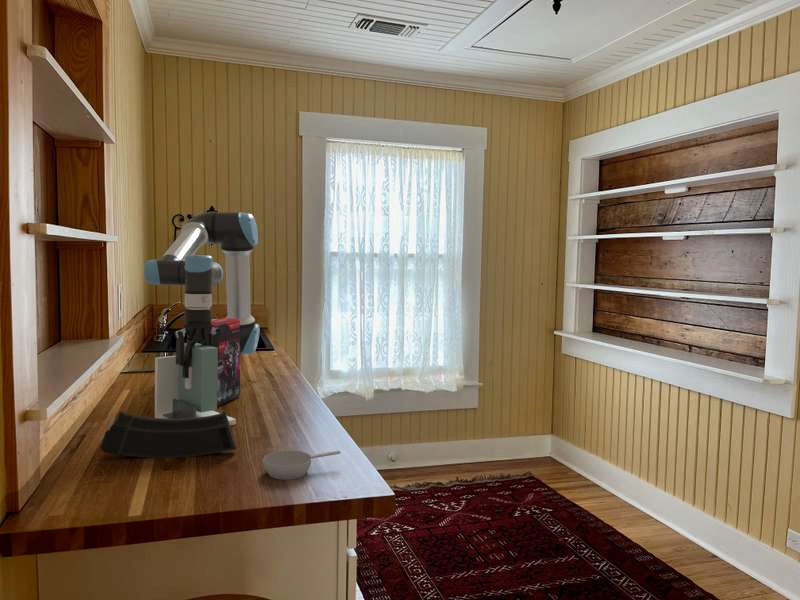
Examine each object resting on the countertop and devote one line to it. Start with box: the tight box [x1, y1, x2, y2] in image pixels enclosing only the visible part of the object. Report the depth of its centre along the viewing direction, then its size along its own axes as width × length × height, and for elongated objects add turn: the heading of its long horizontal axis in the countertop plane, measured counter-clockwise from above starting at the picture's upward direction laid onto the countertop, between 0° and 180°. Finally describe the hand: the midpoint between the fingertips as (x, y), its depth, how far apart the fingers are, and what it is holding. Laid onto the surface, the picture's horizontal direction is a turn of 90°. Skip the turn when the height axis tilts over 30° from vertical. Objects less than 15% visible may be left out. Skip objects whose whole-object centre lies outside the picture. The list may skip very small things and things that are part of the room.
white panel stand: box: [154, 355, 237, 427], centre depth 171 cm, size 14×21×18 cm, turn 48°
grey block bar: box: [163, 399, 196, 419], centre depth 168 cm, size 4×12×4 cm, turn 48°
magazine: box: [100, 410, 237, 459], centre depth 142 cm, size 17×3×30 cm
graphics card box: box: [198, 317, 241, 408], centre depth 193 cm, size 17×7×27 cm, turn 168°
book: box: [178, 342, 218, 412], centre depth 172 cm, size 5×13×18 cm, turn 48°
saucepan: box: [263, 449, 341, 481], centre depth 136 cm, size 11×18×4 cm, turn 114°
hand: (197, 387), depth 172 cm, fingers closed on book, 5 cm apart
